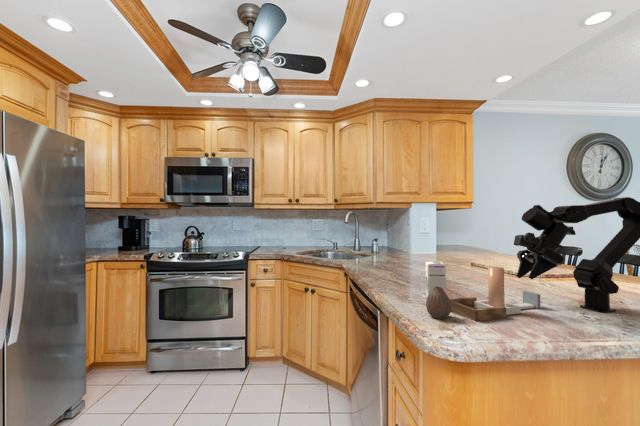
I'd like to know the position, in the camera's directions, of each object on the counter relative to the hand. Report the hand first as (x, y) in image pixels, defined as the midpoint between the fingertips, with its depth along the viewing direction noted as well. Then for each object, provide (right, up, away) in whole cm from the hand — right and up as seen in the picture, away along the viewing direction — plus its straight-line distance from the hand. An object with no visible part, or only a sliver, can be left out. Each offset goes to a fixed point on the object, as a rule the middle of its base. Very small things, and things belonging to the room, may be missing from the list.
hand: (523, 277), depth 93 cm
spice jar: (-11, -9, -2) cm, 14 cm away
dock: (-18, -10, -5) cm, 21 cm away
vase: (-32, -10, -9) cm, 34 cm away
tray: (-5, -10, -1) cm, 11 cm away
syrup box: (-28, -10, +3) cm, 30 cm away
